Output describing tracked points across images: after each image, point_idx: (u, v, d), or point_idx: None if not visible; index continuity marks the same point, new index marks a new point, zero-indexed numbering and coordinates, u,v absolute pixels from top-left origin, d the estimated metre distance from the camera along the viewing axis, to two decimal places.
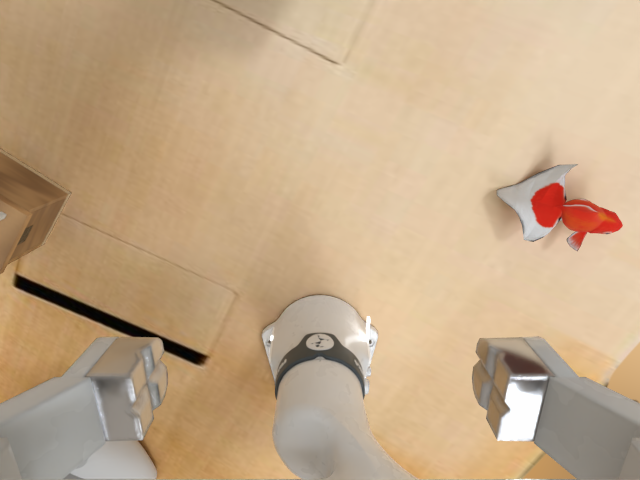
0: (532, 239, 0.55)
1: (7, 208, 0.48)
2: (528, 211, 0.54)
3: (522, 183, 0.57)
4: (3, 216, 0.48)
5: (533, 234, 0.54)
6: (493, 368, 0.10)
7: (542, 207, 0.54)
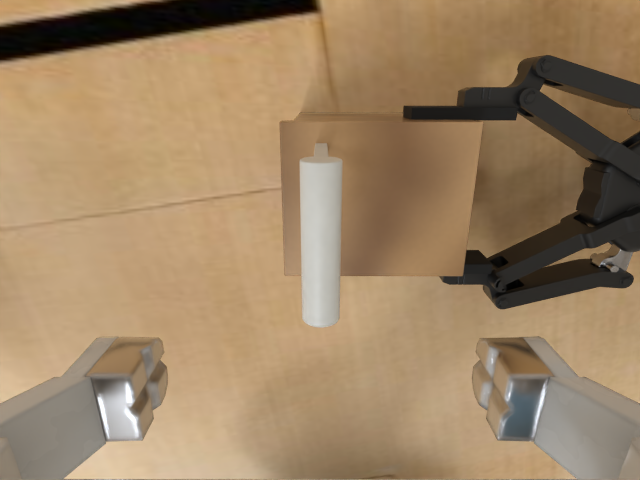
0: None
1: None
2: None
3: None
4: None
5: None
6: (493, 368, 0.10)
7: None
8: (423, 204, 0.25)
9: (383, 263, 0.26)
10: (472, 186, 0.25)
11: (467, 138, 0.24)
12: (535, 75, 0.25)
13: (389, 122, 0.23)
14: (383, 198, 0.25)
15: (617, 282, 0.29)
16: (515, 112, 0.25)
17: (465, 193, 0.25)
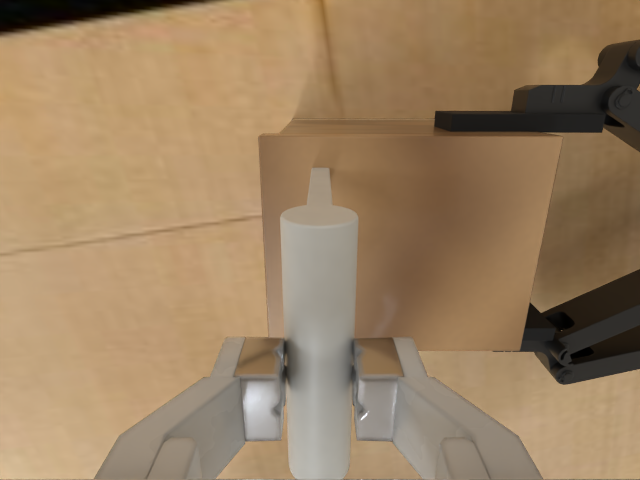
0: None
1: None
2: None
3: None
4: None
5: None
6: None
7: None
8: (468, 254, 0.17)
9: (408, 334, 0.19)
10: (540, 230, 0.17)
11: (537, 160, 0.16)
12: (632, 67, 0.17)
13: (422, 137, 0.16)
14: (410, 246, 0.17)
15: None
16: (601, 121, 0.17)
17: (530, 239, 0.17)
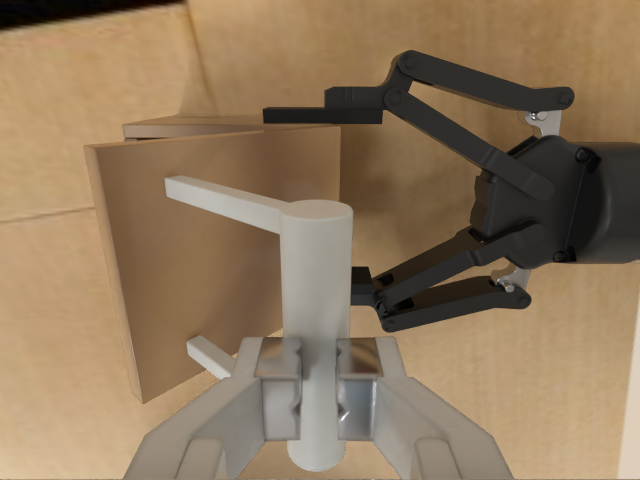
0: None
1: (194, 366, 0.17)
2: None
3: None
4: (192, 355, 0.16)
5: None
6: None
7: None
8: None
9: (268, 319, 0.20)
10: (337, 199, 0.22)
11: (330, 146, 0.20)
12: (402, 72, 0.22)
13: (256, 134, 0.17)
14: (261, 237, 0.18)
15: (514, 303, 0.26)
16: (380, 115, 0.22)
17: None
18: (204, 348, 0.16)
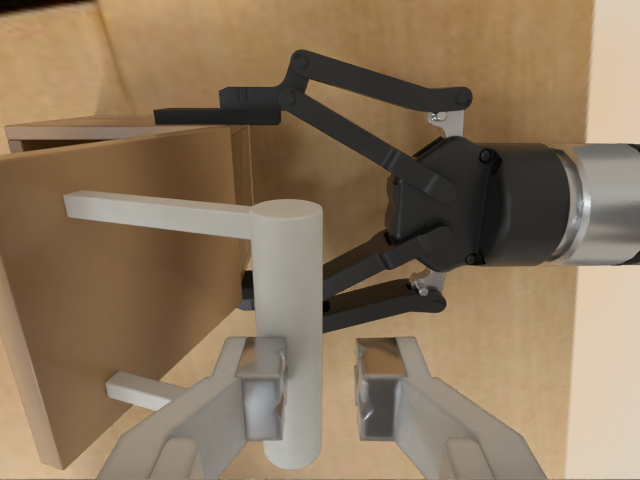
0: None
1: (116, 409, 0.15)
2: None
3: None
4: (116, 396, 0.14)
5: None
6: None
7: None
8: (204, 239, 0.19)
9: (184, 337, 0.18)
10: (233, 202, 0.21)
11: (222, 147, 0.20)
12: (297, 72, 0.21)
13: (154, 138, 0.15)
14: (169, 250, 0.17)
15: (429, 306, 0.26)
16: (275, 116, 0.21)
17: None
18: (132, 383, 0.14)
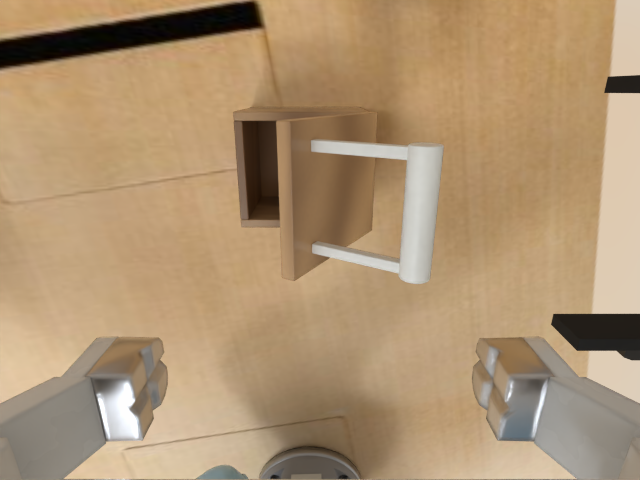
0: None
1: (313, 262, 0.27)
2: None
3: None
4: (316, 252, 0.27)
5: None
6: (493, 368, 0.10)
7: None
8: (358, 180, 0.31)
9: (343, 238, 0.31)
10: (374, 161, 0.33)
11: (372, 125, 0.31)
12: None
13: (343, 116, 0.27)
14: (342, 181, 0.29)
15: None
16: None
17: (372, 166, 0.33)
18: (326, 245, 0.26)
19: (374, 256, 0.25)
